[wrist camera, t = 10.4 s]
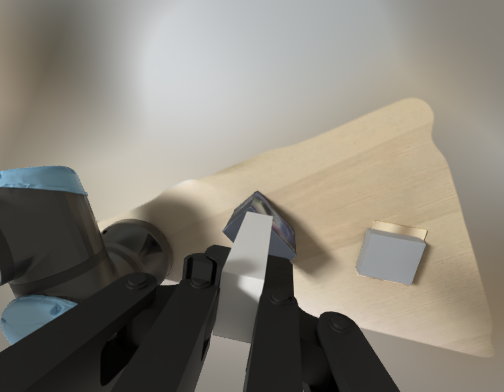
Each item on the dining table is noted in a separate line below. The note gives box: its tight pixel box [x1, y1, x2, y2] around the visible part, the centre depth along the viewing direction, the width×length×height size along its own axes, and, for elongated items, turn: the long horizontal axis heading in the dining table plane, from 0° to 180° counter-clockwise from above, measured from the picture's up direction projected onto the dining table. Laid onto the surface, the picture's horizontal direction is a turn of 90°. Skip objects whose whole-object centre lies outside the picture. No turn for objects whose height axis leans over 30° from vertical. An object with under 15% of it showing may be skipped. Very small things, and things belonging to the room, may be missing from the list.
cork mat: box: [358, 220, 427, 285], centre depth 51 cm, size 9×11×1 cm
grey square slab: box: [356, 228, 426, 285], centre depth 50 cm, size 3×8×9 cm
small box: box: [223, 191, 297, 261], centre depth 48 cm, size 11×6×10 cm, turn 43°
